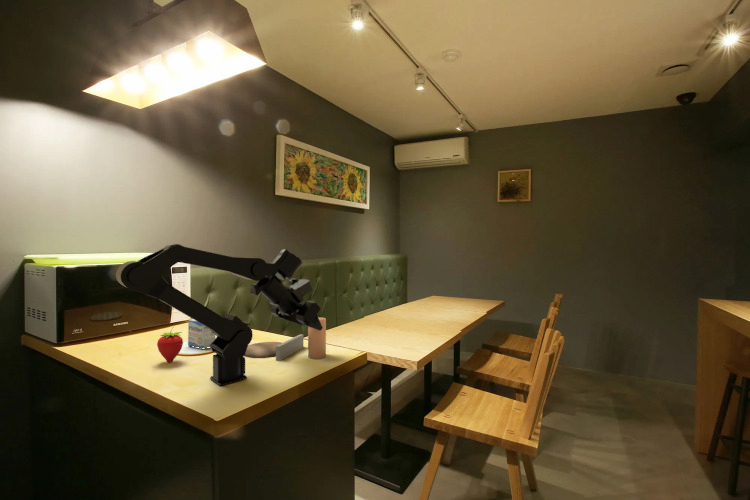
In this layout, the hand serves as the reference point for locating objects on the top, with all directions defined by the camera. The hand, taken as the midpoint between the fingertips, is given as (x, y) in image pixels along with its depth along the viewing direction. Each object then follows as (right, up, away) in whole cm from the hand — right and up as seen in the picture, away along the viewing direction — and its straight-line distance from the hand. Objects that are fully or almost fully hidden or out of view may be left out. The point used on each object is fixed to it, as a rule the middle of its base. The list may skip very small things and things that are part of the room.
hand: (312, 326), depth 102 cm
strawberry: (-39, -9, -4) cm, 40 cm away
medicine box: (-38, -9, +11) cm, 41 cm away
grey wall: (-7, -9, +4) cm, 12 cm away
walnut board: (-16, -9, +7) cm, 19 cm away
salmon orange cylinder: (+1, -9, +1) cm, 9 cm away
